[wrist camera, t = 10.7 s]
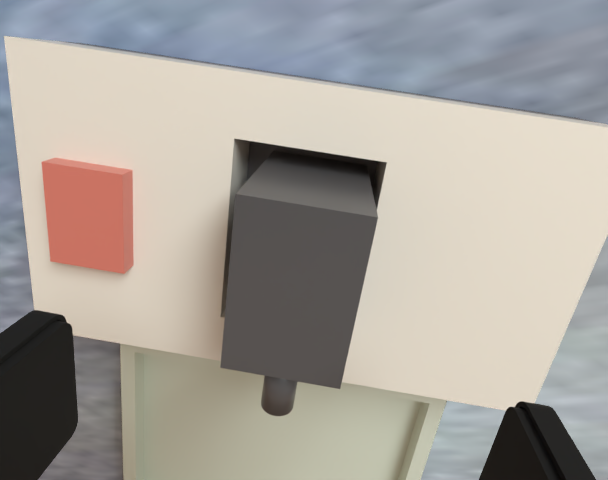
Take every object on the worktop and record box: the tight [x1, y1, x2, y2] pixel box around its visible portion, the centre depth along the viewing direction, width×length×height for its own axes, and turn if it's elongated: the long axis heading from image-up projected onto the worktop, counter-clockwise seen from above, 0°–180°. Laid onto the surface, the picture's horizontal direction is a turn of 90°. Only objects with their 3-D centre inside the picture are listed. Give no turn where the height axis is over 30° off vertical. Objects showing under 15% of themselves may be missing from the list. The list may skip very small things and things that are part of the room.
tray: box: [120, 344, 447, 480], centre depth 26 cm, size 18×14×2 cm
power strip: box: [4, 36, 608, 410], centre depth 19 cm, size 22×12×6 cm, turn 82°
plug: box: [220, 150, 378, 416], centre depth 17 cm, size 4×8×7 cm, turn 172°
